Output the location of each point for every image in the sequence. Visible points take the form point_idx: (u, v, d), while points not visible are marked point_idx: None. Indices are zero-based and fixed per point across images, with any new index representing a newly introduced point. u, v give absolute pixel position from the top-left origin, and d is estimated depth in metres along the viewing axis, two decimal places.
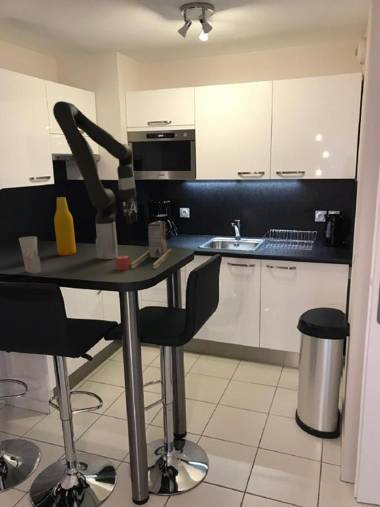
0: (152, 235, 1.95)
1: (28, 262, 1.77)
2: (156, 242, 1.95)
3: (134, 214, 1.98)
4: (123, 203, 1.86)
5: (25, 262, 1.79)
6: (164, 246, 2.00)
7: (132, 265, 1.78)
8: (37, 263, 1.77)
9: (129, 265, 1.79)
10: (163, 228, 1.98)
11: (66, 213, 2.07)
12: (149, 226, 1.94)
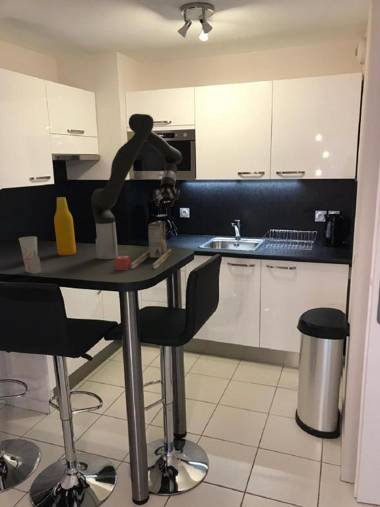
0: (152, 235, 1.95)
1: (28, 262, 1.77)
2: (156, 242, 1.95)
3: (158, 201, 2.13)
4: (179, 190, 2.14)
5: (25, 262, 1.79)
6: (164, 246, 2.00)
7: (132, 265, 1.78)
8: (37, 263, 1.77)
9: (129, 265, 1.79)
10: (163, 228, 1.98)
11: (66, 213, 2.07)
12: (149, 226, 1.94)
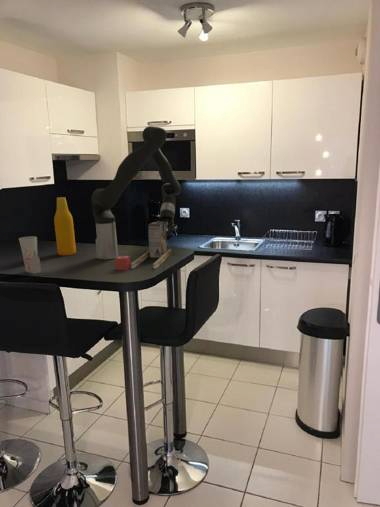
0: (152, 235, 1.95)
1: (28, 262, 1.77)
2: (156, 242, 1.95)
3: None
4: (176, 226, 2.11)
5: (25, 262, 1.79)
6: (164, 246, 2.00)
7: (132, 265, 1.78)
8: (37, 263, 1.77)
9: (129, 265, 1.79)
10: (163, 228, 1.98)
11: (66, 213, 2.07)
12: (149, 226, 1.94)
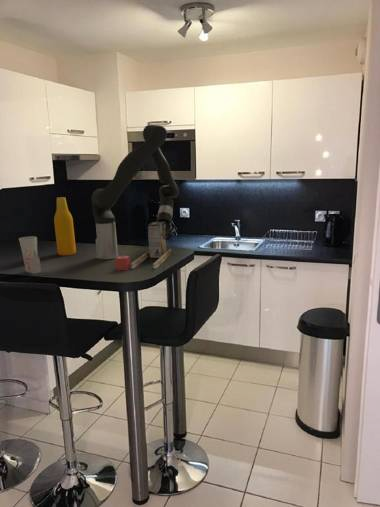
0: (152, 235, 1.94)
1: (28, 262, 1.77)
2: (155, 242, 1.95)
3: None
4: (173, 229, 2.07)
5: (25, 262, 1.79)
6: (164, 246, 1.99)
7: (132, 265, 1.78)
8: (37, 263, 1.77)
9: (129, 265, 1.79)
10: (163, 228, 1.97)
11: (66, 213, 2.07)
12: (149, 226, 1.93)
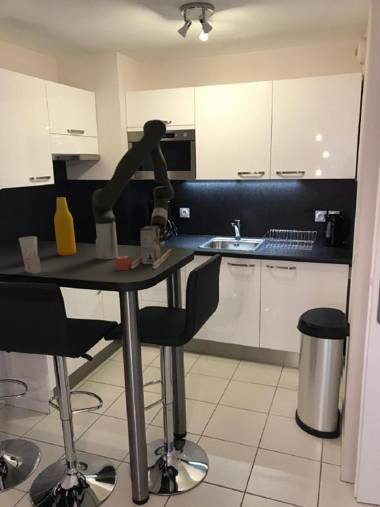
0: (145, 240, 1.83)
1: (28, 262, 1.77)
2: (148, 247, 1.83)
3: None
4: (168, 233, 1.96)
5: (25, 262, 1.79)
6: (158, 252, 1.88)
7: (132, 265, 1.78)
8: (37, 263, 1.77)
9: (129, 265, 1.79)
10: (156, 233, 1.86)
11: (66, 213, 2.07)
12: (141, 230, 1.82)
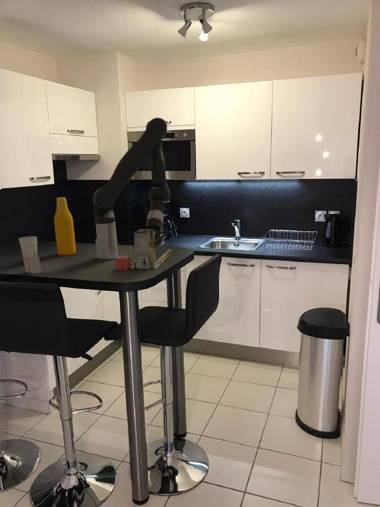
0: (139, 244, 1.75)
1: (28, 262, 1.77)
2: (142, 251, 1.76)
3: None
4: (164, 237, 1.88)
5: (25, 262, 1.79)
6: (152, 256, 1.80)
7: (132, 265, 1.78)
8: (37, 263, 1.77)
9: (129, 265, 1.79)
10: (151, 236, 1.78)
11: (66, 213, 2.07)
12: (135, 234, 1.75)
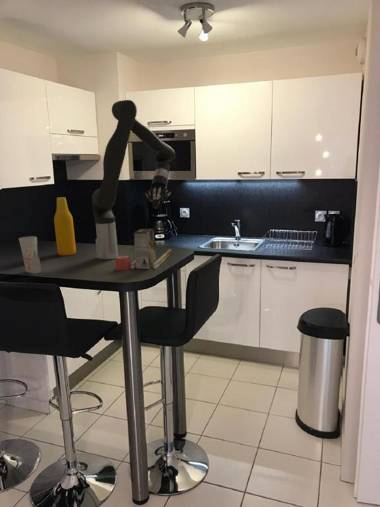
0: (139, 244, 1.75)
1: (28, 262, 1.77)
2: (142, 251, 1.75)
3: None
4: (169, 193, 1.98)
5: (25, 262, 1.79)
6: (152, 256, 1.80)
7: (132, 265, 1.78)
8: (37, 263, 1.77)
9: (129, 265, 1.79)
10: (151, 236, 1.78)
11: (66, 213, 2.07)
12: (135, 234, 1.74)
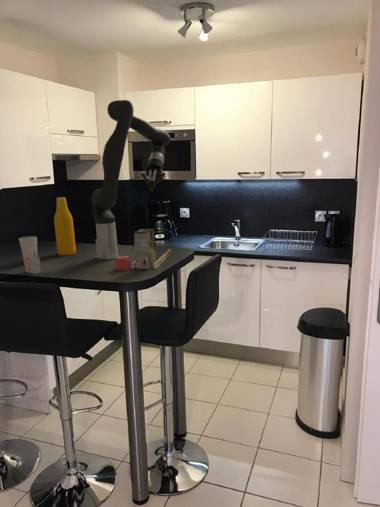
0: (139, 244, 1.75)
1: (28, 262, 1.77)
2: (142, 251, 1.75)
3: None
4: (164, 175, 2.04)
5: (25, 262, 1.79)
6: (152, 256, 1.80)
7: (132, 265, 1.78)
8: (37, 263, 1.77)
9: (129, 265, 1.79)
10: (151, 236, 1.78)
11: (66, 213, 2.07)
12: (135, 234, 1.74)
